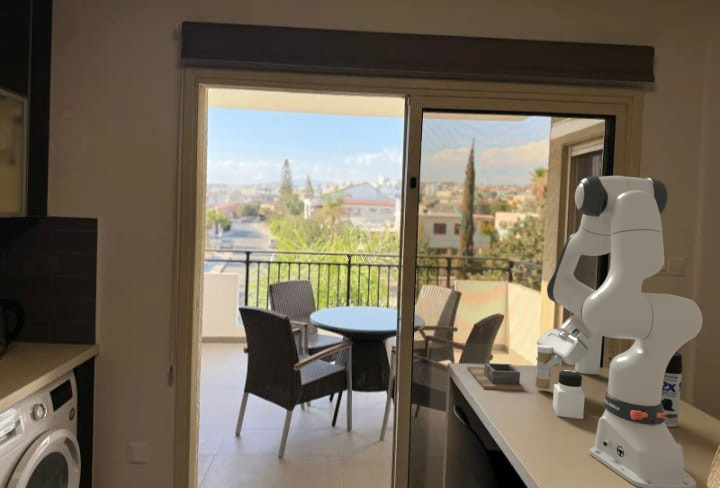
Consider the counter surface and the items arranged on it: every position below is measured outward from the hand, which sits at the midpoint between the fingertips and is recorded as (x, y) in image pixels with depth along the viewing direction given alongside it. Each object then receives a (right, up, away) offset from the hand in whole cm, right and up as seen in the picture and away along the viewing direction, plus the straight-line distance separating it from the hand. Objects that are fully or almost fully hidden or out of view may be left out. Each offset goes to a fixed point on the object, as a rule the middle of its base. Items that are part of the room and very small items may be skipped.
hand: (542, 363), depth 161 cm
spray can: (+26, -12, -21) cm, 35 cm away
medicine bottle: (+1, -10, -17) cm, 20 cm away
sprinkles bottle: (0, -8, 0) cm, 8 cm away
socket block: (-13, -8, +10) cm, 18 cm away
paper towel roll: (+24, -9, +23) cm, 35 cm away
